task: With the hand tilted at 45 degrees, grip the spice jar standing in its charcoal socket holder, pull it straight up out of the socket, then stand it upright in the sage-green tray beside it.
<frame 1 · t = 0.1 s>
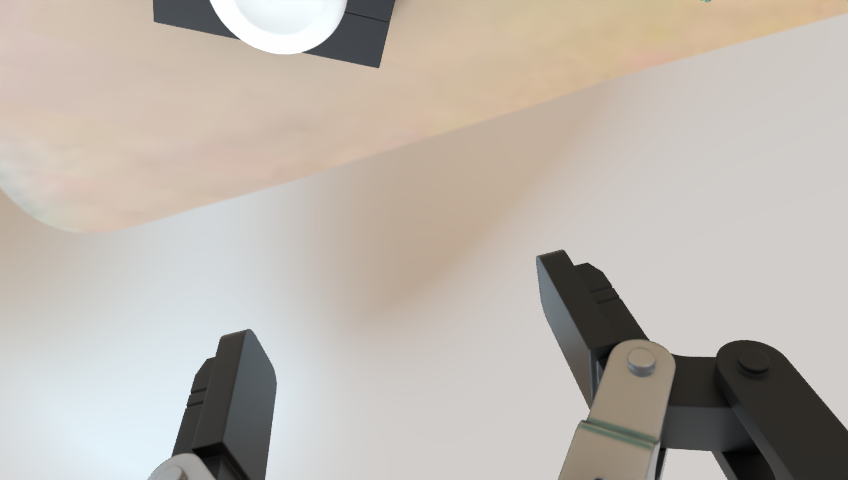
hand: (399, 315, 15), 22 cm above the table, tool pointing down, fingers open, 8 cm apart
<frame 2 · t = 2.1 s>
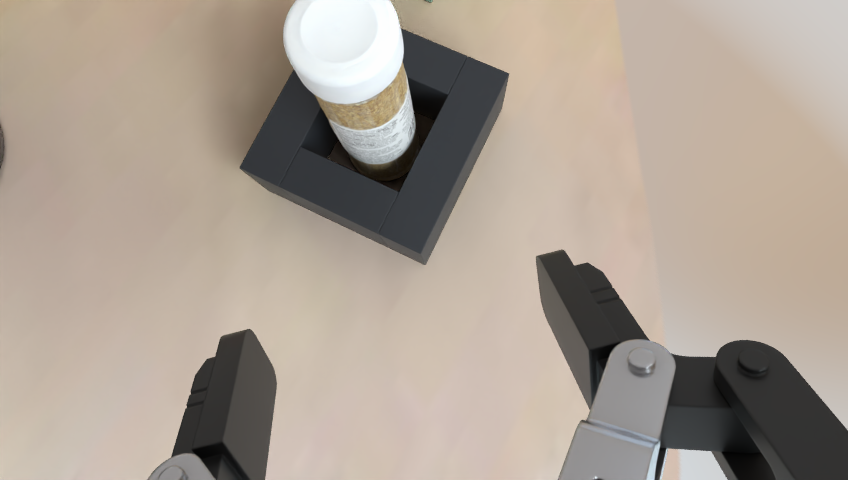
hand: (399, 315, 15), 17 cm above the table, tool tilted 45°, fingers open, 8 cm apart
spice jar: (385, 149, 33), resting in holder
holder: (384, 148, 33), on the table
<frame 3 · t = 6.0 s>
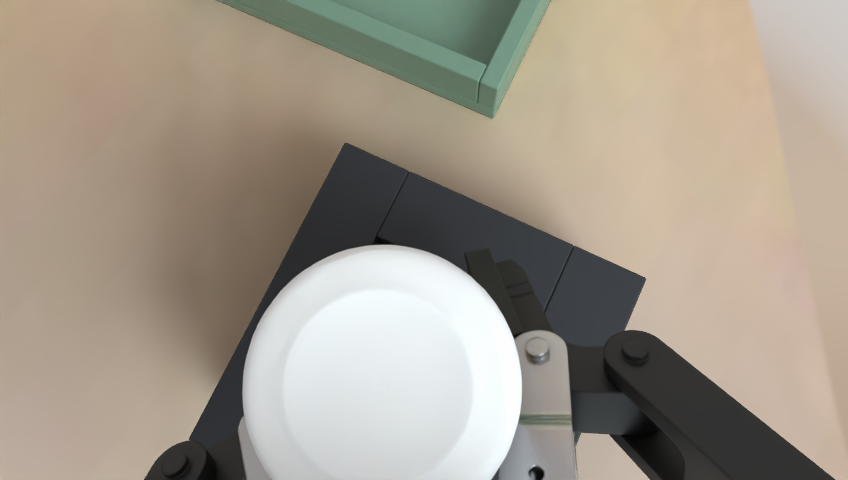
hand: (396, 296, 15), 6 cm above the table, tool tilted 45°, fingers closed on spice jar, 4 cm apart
spice jar: (425, 353, 22), resting in holder, touching gripper
holder: (425, 353, 21), on the table
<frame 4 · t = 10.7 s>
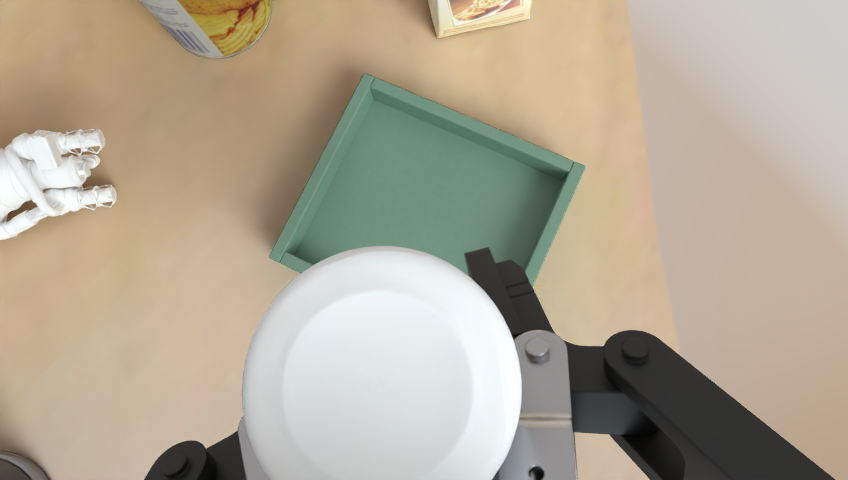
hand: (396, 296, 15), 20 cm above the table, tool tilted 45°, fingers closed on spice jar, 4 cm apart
spice jar: (426, 354, 22), point 13 cm above the table, touching gripper
tray: (428, 220, 36), on the table
canned food: (221, 11, 40), on the table
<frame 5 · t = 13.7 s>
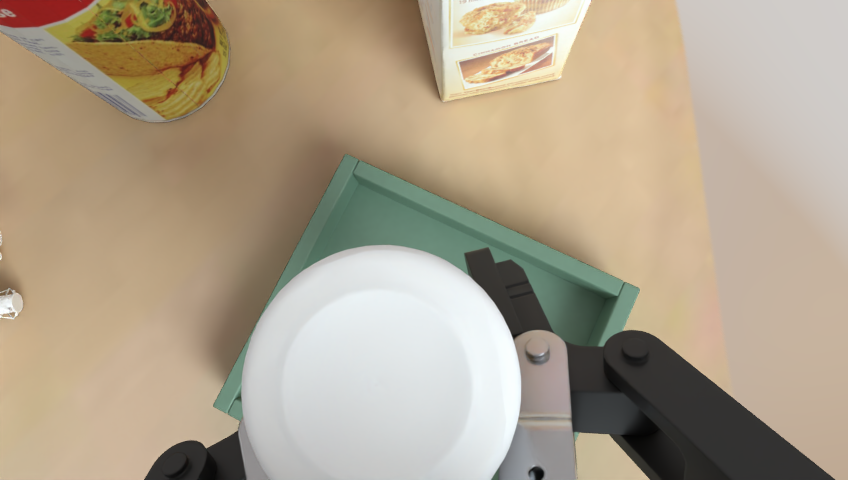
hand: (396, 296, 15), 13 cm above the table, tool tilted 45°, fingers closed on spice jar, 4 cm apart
spice jar: (426, 353, 22), point 6 cm above the table, touching gripper
tray: (428, 346, 27), on the table
canned food: (166, 60, 31), on the table
when the fingers open (7 cm above the table, at t = 15.6 s): spice jar stays where it is, resting on tray.
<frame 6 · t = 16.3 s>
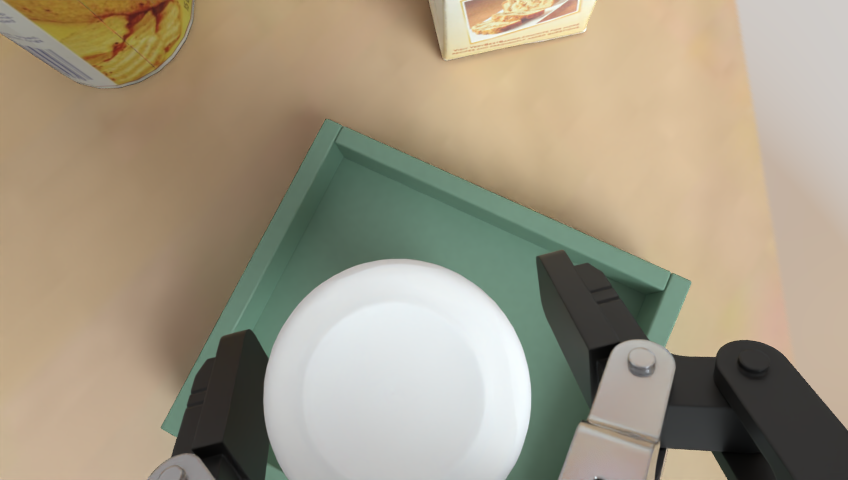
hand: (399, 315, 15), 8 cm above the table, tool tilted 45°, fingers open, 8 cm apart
spice jar: (431, 357, 22), point 1 cm above the table, touching tray
tray: (428, 352, 23), on the table
canned food: (120, 17, 27), on the table
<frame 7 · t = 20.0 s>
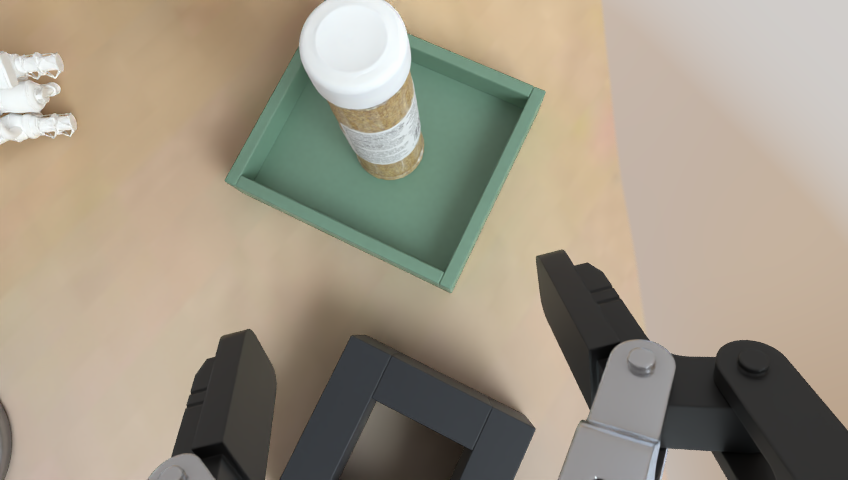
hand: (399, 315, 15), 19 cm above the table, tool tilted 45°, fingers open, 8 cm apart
spice jar: (391, 150, 35), point 1 cm above the table, touching tray
tray: (389, 151, 36), on the table
holder: (404, 457, 32), on the table
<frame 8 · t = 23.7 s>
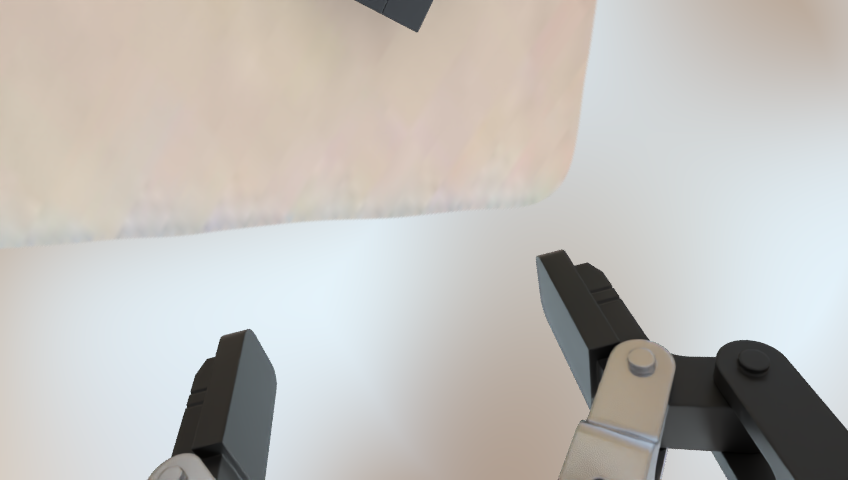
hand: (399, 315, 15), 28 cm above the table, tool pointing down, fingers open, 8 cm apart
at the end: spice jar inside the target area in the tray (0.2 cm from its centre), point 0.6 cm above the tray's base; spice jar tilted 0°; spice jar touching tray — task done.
